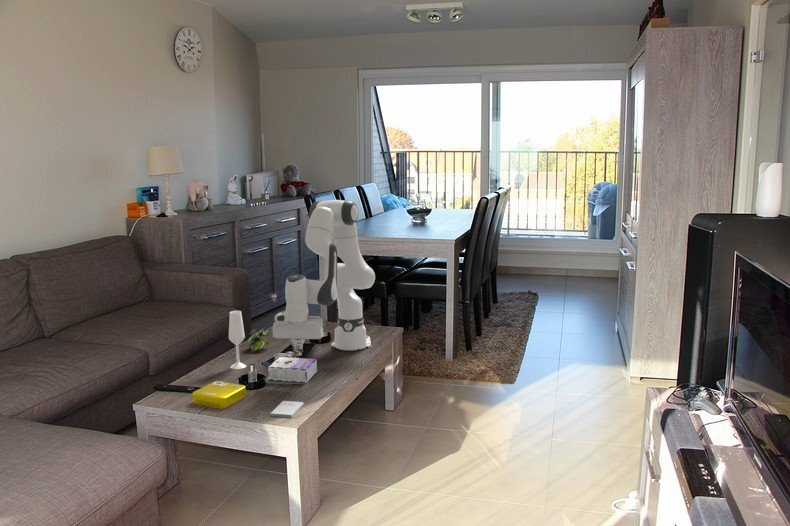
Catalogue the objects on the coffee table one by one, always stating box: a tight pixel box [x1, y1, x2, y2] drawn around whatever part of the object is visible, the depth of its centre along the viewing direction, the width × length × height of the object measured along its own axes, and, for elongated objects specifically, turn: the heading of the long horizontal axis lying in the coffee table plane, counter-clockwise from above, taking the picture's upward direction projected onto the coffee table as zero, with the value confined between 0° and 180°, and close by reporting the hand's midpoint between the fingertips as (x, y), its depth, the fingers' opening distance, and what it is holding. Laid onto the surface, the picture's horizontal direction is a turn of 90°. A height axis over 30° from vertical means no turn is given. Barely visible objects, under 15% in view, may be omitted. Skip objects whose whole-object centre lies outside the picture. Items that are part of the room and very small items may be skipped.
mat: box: [265, 376, 306, 386], centre depth 284 cm, size 16×17×1 cm
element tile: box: [191, 380, 247, 409], centre depth 260 cm, size 15×15×5 cm
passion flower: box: [247, 328, 271, 353], centre depth 323 cm, size 11×11×12 cm
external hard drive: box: [269, 400, 305, 419], centre depth 249 cm, size 2×8×12 cm
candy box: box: [267, 356, 318, 384], centre depth 284 cm, size 14×6×16 cm
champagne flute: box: [228, 310, 247, 370], centre depth 296 cm, size 7×7×24 cm
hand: (298, 348), depth 281 cm, fingers closed
